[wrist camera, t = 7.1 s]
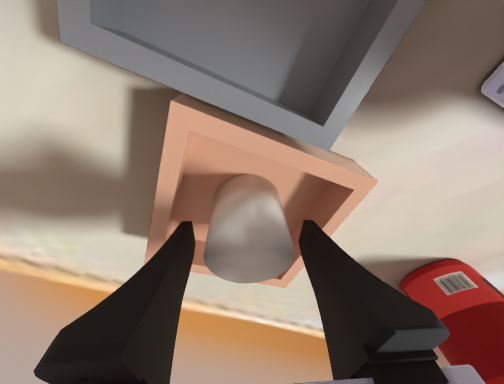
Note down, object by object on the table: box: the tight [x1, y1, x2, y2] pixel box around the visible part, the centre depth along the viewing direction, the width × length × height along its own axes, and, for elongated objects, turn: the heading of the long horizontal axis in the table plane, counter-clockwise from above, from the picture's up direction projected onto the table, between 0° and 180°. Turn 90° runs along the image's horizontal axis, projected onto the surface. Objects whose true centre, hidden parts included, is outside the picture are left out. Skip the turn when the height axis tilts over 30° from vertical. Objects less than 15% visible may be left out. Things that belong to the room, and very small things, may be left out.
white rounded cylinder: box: [203, 174, 295, 283], centre depth 13 cm, size 5×5×5 cm
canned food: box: [400, 260, 504, 384], centre depth 19 cm, size 8×8×11 cm
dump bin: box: [144, 93, 378, 288], centre depth 14 cm, size 12×12×3 cm
